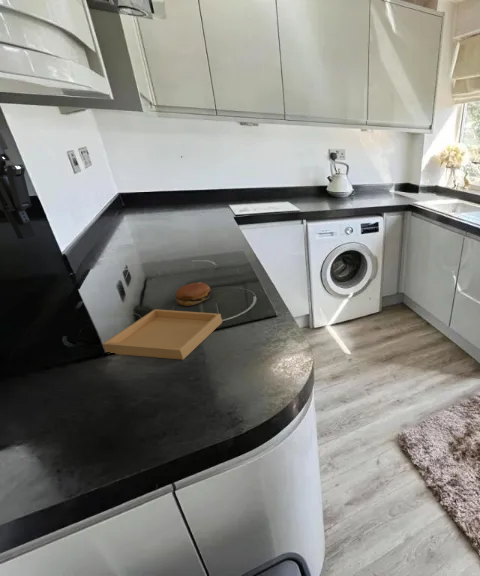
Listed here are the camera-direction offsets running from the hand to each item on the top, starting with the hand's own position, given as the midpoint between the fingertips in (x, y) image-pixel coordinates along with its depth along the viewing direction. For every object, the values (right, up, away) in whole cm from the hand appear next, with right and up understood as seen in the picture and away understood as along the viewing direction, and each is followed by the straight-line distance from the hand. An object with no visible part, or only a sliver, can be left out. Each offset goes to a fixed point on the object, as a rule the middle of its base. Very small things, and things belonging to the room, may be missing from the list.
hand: (27, 237), depth 79 cm
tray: (+31, -25, +5) cm, 40 cm away
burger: (+27, -16, +24) cm, 40 cm away
